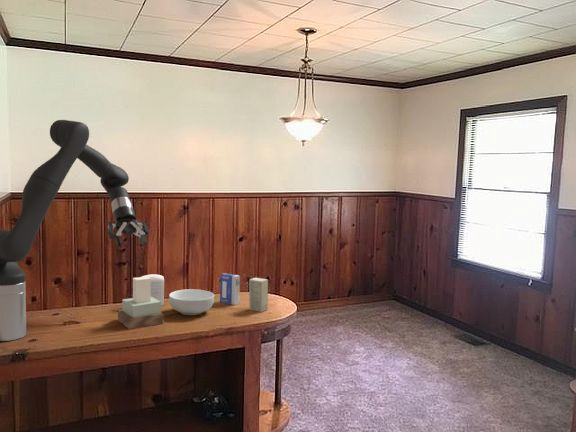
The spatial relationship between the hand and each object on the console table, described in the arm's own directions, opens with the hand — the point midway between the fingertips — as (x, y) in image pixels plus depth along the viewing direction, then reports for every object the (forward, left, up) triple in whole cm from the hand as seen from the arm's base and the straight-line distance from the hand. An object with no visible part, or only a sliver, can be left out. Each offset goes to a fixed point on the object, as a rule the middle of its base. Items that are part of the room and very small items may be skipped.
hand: (132, 245), depth 178 cm
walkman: (+39, -3, -26) cm, 47 cm away
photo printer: (+10, +8, -26) cm, 29 cm away
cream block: (0, -10, -18) cm, 21 cm away
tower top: (0, -10, -22) cm, 24 cm away
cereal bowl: (+20, -8, -26) cm, 34 cm away
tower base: (0, -10, -26) cm, 28 cm away
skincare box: (+44, -17, -26) cm, 54 cm away
